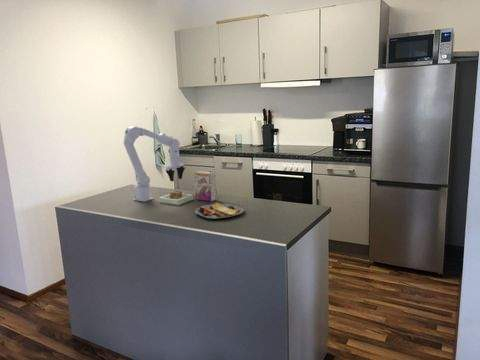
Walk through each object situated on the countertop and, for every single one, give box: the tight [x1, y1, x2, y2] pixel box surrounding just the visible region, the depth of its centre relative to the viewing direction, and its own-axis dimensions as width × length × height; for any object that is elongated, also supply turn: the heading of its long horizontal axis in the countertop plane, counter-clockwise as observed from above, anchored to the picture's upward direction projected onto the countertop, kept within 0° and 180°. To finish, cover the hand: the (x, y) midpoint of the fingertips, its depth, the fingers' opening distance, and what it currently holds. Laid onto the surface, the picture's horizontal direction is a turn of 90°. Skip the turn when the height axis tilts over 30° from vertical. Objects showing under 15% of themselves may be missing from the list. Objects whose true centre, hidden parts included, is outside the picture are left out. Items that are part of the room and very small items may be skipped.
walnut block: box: [169, 190, 183, 200], centre depth 232 cm, size 5×5×5 cm
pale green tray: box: [158, 192, 194, 206], centre depth 232 cm, size 14×14×3 cm
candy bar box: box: [194, 170, 217, 202], centre depth 232 cm, size 11×5×16 cm, turn 58°
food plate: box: [194, 201, 245, 219], centre depth 205 cm, size 25×23×4 cm
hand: (176, 179), depth 246 cm, fingers open, 7 cm apart
